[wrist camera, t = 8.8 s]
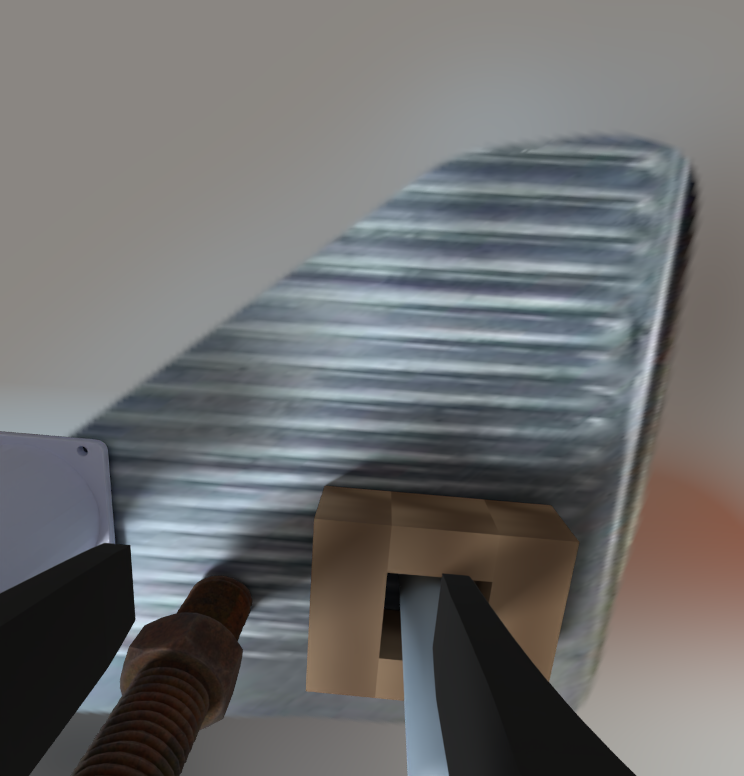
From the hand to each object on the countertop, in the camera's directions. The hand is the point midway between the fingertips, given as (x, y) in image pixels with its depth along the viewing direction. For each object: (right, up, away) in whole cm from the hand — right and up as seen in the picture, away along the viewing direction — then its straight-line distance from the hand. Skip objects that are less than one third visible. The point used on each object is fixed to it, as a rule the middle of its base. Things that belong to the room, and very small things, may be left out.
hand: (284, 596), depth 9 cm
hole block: (+5, -5, +12) cm, 13 cm away
